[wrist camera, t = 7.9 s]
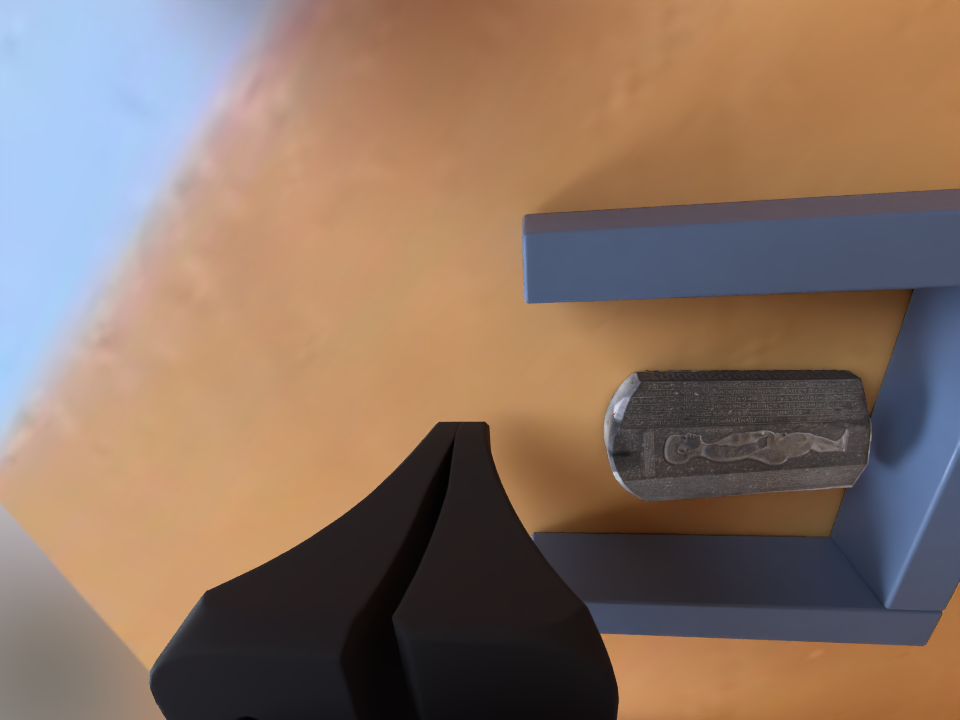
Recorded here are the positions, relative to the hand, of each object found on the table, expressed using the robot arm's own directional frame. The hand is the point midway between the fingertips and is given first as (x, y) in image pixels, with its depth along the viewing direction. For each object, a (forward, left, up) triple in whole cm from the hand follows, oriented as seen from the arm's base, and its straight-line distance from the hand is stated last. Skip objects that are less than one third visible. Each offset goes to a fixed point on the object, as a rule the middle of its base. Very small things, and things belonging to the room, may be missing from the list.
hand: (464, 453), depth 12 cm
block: (0, -7, -2) cm, 7 cm away
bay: (0, -6, -1) cm, 6 cm away
